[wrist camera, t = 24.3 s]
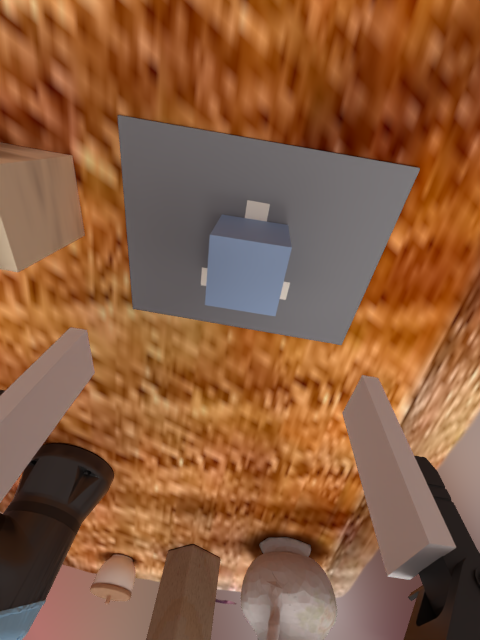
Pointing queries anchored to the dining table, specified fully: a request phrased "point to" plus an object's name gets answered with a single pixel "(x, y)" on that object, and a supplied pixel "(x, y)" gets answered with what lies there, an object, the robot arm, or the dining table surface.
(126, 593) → the lidded jar
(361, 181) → the board
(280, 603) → the ceramic pitcher
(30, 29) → the dining table surface
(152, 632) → the wooden block
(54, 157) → the maple block
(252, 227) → the blue cube
